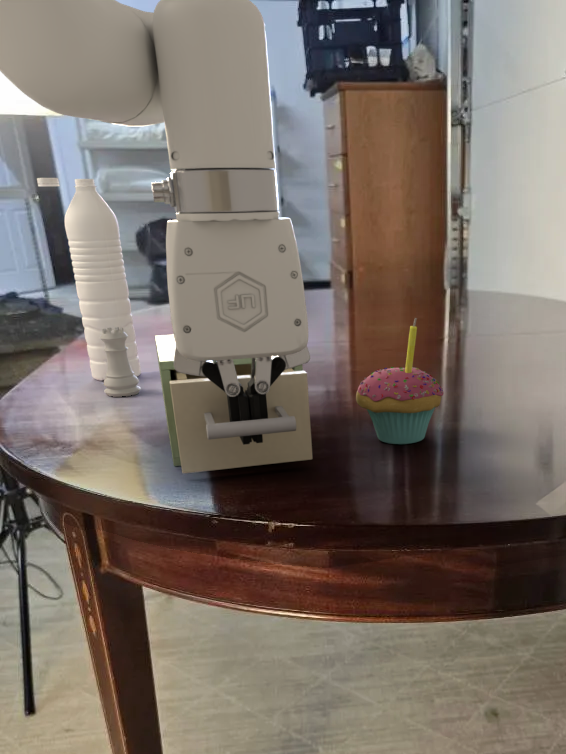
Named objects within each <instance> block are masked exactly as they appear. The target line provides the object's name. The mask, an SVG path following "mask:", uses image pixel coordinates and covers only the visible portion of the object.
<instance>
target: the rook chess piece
mask: <svg viewBox="0 0 566 754" xmlns="http://www.w3.org/2000/svg"><path fill="white" fill-rule="evenodd" d="M119 330H120V331H119ZM127 337H128V335H127V334H126V333H125V332H124V329H123V328H120V329H119V327H115V330H114V331H112V329H111V328H107V330H106V329H102V335H101V337H100V339H101V340H102V341H103V342H104V343H105V349H104V351H105V352H106V355H107V374H106V378H105V380H103V387H105V388H104V390H103V392H104V393H105V394H106V395H107V396H108V397H111V396H113V397H112V398H123V397H122V396H126V397H131V395H132V396H135V395H138V394H139V393H140V391H141V389H142V387H141V386H139V384H140V379H139V377H138V376H137V377H136V376H135V375H134V372H133V371H132V369H131V367H130V364H129V360H128V357H127V349H128V348H127V347H126V346H125V341H126V339H127Z"/></svg>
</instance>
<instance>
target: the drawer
mask: <svg viewBox="0 0 566 754" xmlns="http://www.w3.org/2000/svg"><path fill="white" fill-rule="evenodd" d="M234 366H235V370H236V374H237V378H238V382H239V383H241V385H242V387H243V391H244V392H245V390H247V387H248V382H249V381H250V375H251V364H244V365H234ZM174 377H175V381H170V388H171V395H172V403H173V410H174V417H175V424H176V432H177V439H178V446H179V453H180V460H181V466H180V467H181V473H182V474H191V473H200V472H210V471H219V470H220V471H221V470H228V469H229V470H230V469H237V468H238V469H239V468H246V467H254V466H263V465H272V464H283V463H292V462H301V461H311V460H313V446H312V445H313V443H312V429H311V415H310V413H311V411H310V398H309V397H310V396H309V381H308V372H306V370H304V369H303V371H294V370H293V369H292V368H291V369H286V370H284V371H283V372H282V373H281V375H280V376H279V377H278V378H277V379H276V380H275V382H274V383H273V384H272V385H271V386H270V390H269V391H268V392H267V393H266V400H267V411H268V419H257V420H247V421H236V422H230V419H229V410H228V401H227V394H226V393H225V392H224V391H223V390H222V389H220V388H219V387H218V386H217V385H215V384H214V383H213V382H212V381H210V380H209V379H208V378H207V377H204V376H196V375H189V374H183V373H179V372H177V371H176V370H174ZM260 434H262V437H263V443H256V442H254V441H253V440H252V442H250V444H245V445H243V443H242V441H241V439H240V436H250V435H260Z"/></svg>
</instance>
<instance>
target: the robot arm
mask: <svg viewBox="0 0 566 754" xmlns="http://www.w3.org/2000/svg"><path fill="white" fill-rule="evenodd" d="M266 33H267V32H266V24H265V21H264V17H263V15H262V12H261V11H260V9H259V8H258V7H257V5H255V4H254V3H253V2H252V1H251V0H159V1H158V2H157V4H156V5H155V7H154V10H153V12H151V11H144V10H141V9H138V8H135V7H133V6H129V5H127V4H124V3H121V2H119V1H117V0H0V72H1V73H2V75H4V77H5V78H6V79H7V80H9V82H11V83H12V85H13V86H15V87H16V89H18V90H19V91H20V92H21V93H23V95H25V96H27V97H28V98H30V99H31V100H32V101H34V102H35V103H37V104H38V105H39V106H41V107H42V108H45V109H47V110H49V111H51V112H53V113H56V114H59V115H62V116H67V117H73V118H77V119H87V120H93V121H99V122H101V123H107V124H110V125H111V124H112V125H117V126H125V127H137V128H138V127H147V126H153V125H159V124H163V123H164V130H165V137H166V143H167V152H168V160H169V168H170V169H169V170H170V171H171V172H170V173H169V174H170V177H167V178H166V179H162V180H161V182H159V181H158V182H156V181H155V182H151V191H152V198H153V203H164V205H170V207H171V208H174V212H176V213H175V216H176V217H175V218H176V219H172V220H171V219H169V220H167V222H166V232H165V233H166V234H165V253H166V254H165V256H166V279H167V293H168V304H169V314H170V320H171V321H170V322H171V328H172V335H174V340H175V344H176V345H175V353H174V362H173V364H174V368H175V370H176V371H177V372H179V373H183V374H189V375H196V376H204V377H207V378H208V379H209V380H210V381H212V382H213V383H214V384H215V385H217V386H218V387H219V388H220V389H222V390H223V391H224V392H225V393H226V394H227V401H228V410H229V419H230V422H236V421H247V420H257V419H268V411H267V400H266V393H267V392H268V391H269V390H270V386H271V385H272V384H273V383H274V382H275V380H276V379H277V378H278V377H279V376H280V375H281V373H282V372H283V371H284V370H286V369H291V368H293V367H296V366H299V365H302V364H303V365H305V364H307V363H309V362H310V360H311V354H310V350H309V347H308V344H309V321H308V320H309V319H308V312H307V311H308V310H307V304H306V294H305V285H304V279H303V271H302V265H301V258H300V254H299V247H298V243H297V238H296V234H295V229H294V225H293V223H292V222H293V221H292V219H291V218H290V217H280V204H279V192H278V179H277V170H276V169H277V167H276V165H277V164H276V152H275V139H274V123H273V110H272V109H273V108H272V96H271V84H270V83H271V81H270V69H269V56H268V55H269V54H268V43H267V42H268V41H267V34H266ZM245 358H251V375H250V381H249V382H248V387H247V390H245V392H244V391H243V387H242V385H241V383H239V382H238V378H237V374H236V370H235V366H234V362H233V359H245ZM214 361H215V362H216V363H215V362H214ZM240 439H241V441H242V443H243V445H245V444H250V442H252V440H253V441H254V442H256V443H263V437H262V434H260V435H250V436H240Z"/></svg>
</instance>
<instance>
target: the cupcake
mask: <svg viewBox="0 0 566 754" xmlns="http://www.w3.org/2000/svg"><path fill="white" fill-rule="evenodd" d="M417 319H418V318H417V317H414V320H413V325H410V326H409V334H408V340H407V341H408V342H407V350H406V351H407V352H406V358H405V359H406V360H405V367H401V366H397V367H394V366H390V368H387V367H384V369H383V368H381V369H379V368H378V369H376V370H375V371H373V372H371V374H370V375H369V376H366V377H364V378H363V379H364V380H361V381H360V384H359V386H358V387H357V391H356V393H355V401H356V403H357V405H358V406H359V407H361V408H362V409H365V410H366V411H367V413H368V414H369V417H370V420H371V422H372V424H373V427H374V430H375V433H376V436H377V439H378V440H379V441H380V442H382V443H385V444H390V445H410V444H415V443H419V442H421V441H423V440H424V439H425V438H426V434H427V431H428V427H429V423H430V420H431V419H432V416H433V413H434V411H435V410H436V408H438V407H440V405H441V401H442V397H443V396H444V389H443V388H444V387H442V386H441V385H440V382H439V381H438V380H437V379H436V378H434V377H433V375H432V374H431V373H427V372H426V371H425V370H424V371H423V370H421V369H419V367H413V366H414V365H413V364H414V355H415V348H416V347H415V346H416V341H417V332H418V331H417V330H418V327H417V326H416V325H417Z"/></svg>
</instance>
